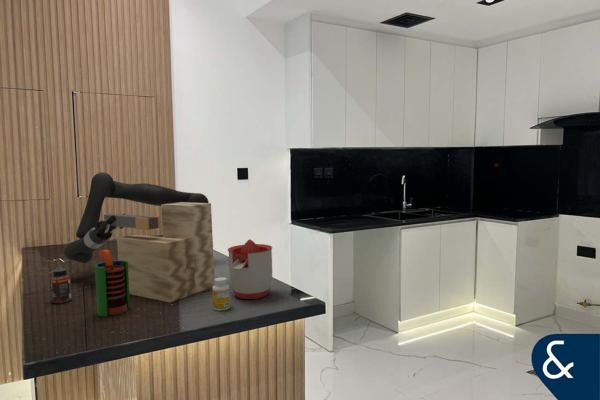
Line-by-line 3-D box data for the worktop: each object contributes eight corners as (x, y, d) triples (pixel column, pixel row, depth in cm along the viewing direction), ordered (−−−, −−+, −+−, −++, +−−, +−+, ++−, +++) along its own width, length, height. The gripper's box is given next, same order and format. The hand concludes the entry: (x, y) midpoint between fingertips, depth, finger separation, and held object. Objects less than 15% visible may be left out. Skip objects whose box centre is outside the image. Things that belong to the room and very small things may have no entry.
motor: (115, 317, 139) (111, 254, 137) (90, 315, 141) (85, 253, 139) (134, 306, 149) (130, 247, 147) (110, 305, 151) (106, 247, 149)
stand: (166, 278, 185) (162, 201, 182) (214, 286, 170) (210, 203, 168) (120, 292, 166) (114, 207, 164) (169, 302, 152) (164, 209, 149)
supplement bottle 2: (214, 305, 147) (212, 277, 146) (230, 305, 148) (229, 276, 147) (212, 311, 142) (211, 281, 141) (229, 310, 142) (228, 280, 141)
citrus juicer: (218, 301, 152) (215, 243, 150) (243, 287, 168) (241, 235, 166) (259, 305, 146) (256, 245, 145) (281, 290, 162) (279, 236, 161)
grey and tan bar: (116, 223, 176) (115, 213, 175) (160, 227, 162) (159, 216, 161) (102, 225, 171) (101, 215, 170) (146, 230, 157) (146, 218, 156)
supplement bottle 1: (75, 299, 159) (73, 268, 158) (61, 304, 153) (59, 272, 152) (62, 298, 161) (60, 267, 160) (48, 303, 155) (46, 271, 154)
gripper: (77, 230, 173) (99, 209, 164) (110, 225, 184) (132, 206, 176) (84, 247, 171) (106, 227, 162) (116, 241, 183) (139, 222, 174)
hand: (119, 216), depth 169 cm, fingers closed on grey and tan bar, 4 cm apart
